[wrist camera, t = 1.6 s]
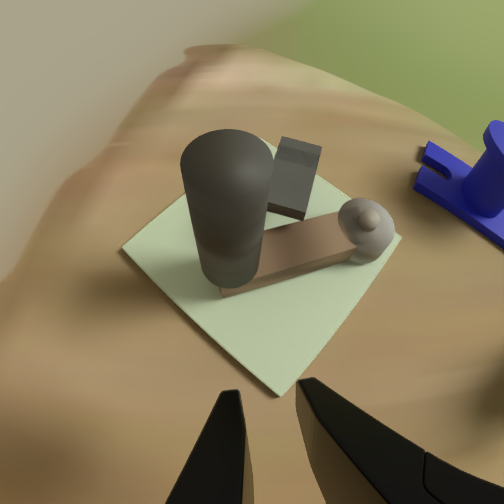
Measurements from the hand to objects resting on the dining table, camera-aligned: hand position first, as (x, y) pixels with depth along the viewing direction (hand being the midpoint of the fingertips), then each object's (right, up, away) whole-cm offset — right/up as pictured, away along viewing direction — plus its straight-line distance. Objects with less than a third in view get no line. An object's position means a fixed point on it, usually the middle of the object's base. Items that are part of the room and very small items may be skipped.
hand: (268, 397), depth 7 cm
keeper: (+2, +7, +19) cm, 20 cm away
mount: (+23, +8, +21) cm, 33 cm away
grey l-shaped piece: (+3, +3, +16) cm, 17 cm away
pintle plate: (+1, +4, +17) cm, 18 cm away
